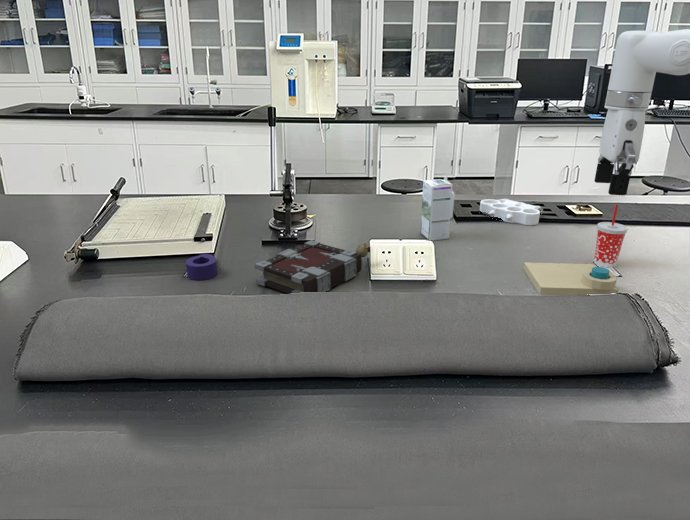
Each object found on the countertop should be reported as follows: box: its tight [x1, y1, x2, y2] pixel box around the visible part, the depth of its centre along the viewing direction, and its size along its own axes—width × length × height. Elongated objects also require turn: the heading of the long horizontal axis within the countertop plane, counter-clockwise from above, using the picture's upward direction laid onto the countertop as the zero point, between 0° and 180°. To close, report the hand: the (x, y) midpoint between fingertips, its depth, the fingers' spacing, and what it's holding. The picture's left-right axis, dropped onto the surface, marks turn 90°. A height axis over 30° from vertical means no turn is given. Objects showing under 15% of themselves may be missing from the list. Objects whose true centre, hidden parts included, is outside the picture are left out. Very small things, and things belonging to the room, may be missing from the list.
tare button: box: [591, 266, 611, 279], centre depth 106 cm, size 3×3×2 cm
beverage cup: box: [593, 203, 629, 268], centre depth 118 cm, size 6×6×14 cm
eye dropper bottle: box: [443, 176, 456, 220], centre depth 150 cm, size 4×6×12 cm
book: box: [254, 239, 371, 294], centre depth 114 cm, size 15×25×5 cm, turn 143°
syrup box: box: [420, 178, 453, 241], centre depth 135 cm, size 6×6×14 cm
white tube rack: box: [479, 198, 544, 227], centre depth 153 cm, size 3×18×15 cm
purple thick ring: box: [185, 253, 218, 281], centre depth 116 cm, size 12×6×3 cm, turn 9°
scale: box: [522, 261, 619, 296], centre depth 110 cm, size 15×14×4 cm
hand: (609, 188), depth 108 cm, fingers open, 9 cm apart
